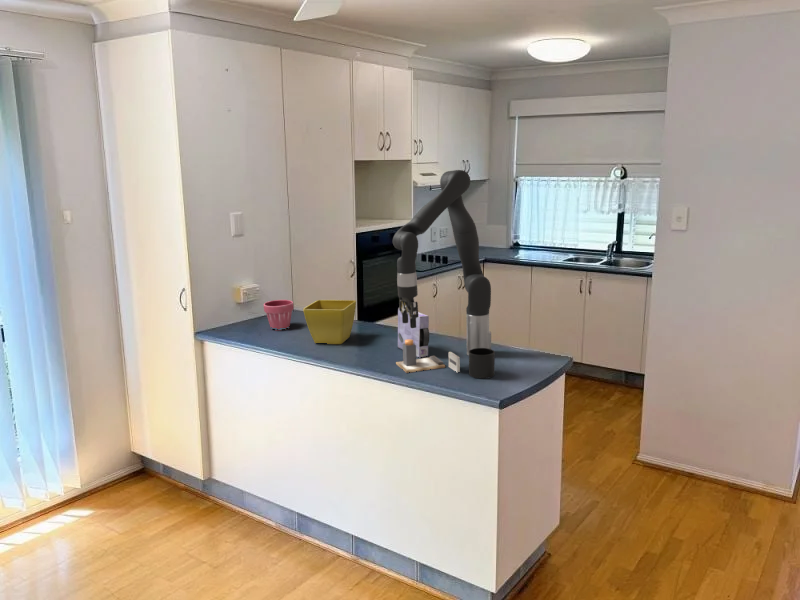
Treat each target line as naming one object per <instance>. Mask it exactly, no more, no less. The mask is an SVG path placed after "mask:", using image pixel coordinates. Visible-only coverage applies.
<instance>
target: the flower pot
mask: <svg viewBox="0 0 800 600" xmlns="http://www.w3.org/2000/svg"><path fill="white" fill-rule="evenodd" d="M356 308H357V300H352V299H350V300H349V299H317V300H316V301H313V302H312V303H310V304H309V305H307V306H305V307H304V308H303V309H302V311H303V314H304V315H303V316H304V319H305V322H306V325H307V328H308V330H309V334H310V335H311V337H312V340H313V342H314V344H316V343H327V344H326V345H342V344H343V343H345V342H346V340H348V339H349V338H350V336H351V333H352V330H353V325H354V321H355V316H356V315H355V314H356Z"/></svg>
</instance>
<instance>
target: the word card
mask: <svg viewBox="0 0 800 600" xmlns="http://www.w3.org/2000/svg"><path fill="white" fill-rule="evenodd" d="M460 358H461V357H460V356H459V355H457V354H455V353H454V352H452V351H448V368H450V369H451V370H452V371H453V372H455V371H456V372H455V373H457V374H458V372H460V373H461V370H460V369H461V366H460V364H461V361H460Z"/></svg>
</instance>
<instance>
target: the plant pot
mask: <svg viewBox="0 0 800 600" xmlns="http://www.w3.org/2000/svg"><path fill="white" fill-rule="evenodd" d="M294 308H295V307H294V302H293V300H289V299H276V300H269V301H265V302H264V303H263V312H264V313H265V314H266V317H267V318H266V319H267V320H268V323H269V326H270V328H271V327H272V328H277V329H280V328H287V327H289V326H290V325H291V320H292V314H293V313H292V312H293V311H294ZM289 328H290V327H289Z"/></svg>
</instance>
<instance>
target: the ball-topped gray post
mask: <svg viewBox="0 0 800 600" xmlns="http://www.w3.org/2000/svg"><path fill="white" fill-rule="evenodd" d="M416 359H417V356H416V345H415V344H414V343H413V340H412V339H407V340H405V343H404V344H403V350H402V361H403V364H405V365H406V366H411V365H416Z"/></svg>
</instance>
